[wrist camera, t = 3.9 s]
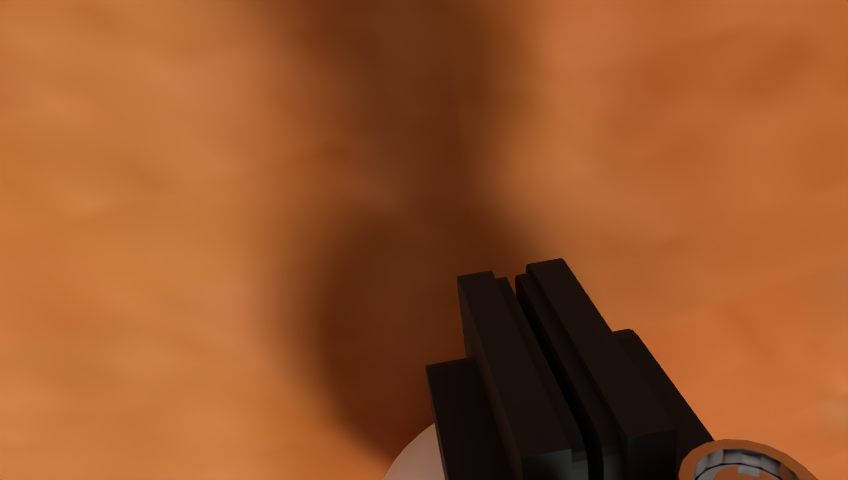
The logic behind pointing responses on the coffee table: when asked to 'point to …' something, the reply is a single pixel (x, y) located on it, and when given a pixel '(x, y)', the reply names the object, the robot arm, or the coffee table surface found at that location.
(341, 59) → the coffee table surface
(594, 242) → the coffee table surface
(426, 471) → the cue ball
